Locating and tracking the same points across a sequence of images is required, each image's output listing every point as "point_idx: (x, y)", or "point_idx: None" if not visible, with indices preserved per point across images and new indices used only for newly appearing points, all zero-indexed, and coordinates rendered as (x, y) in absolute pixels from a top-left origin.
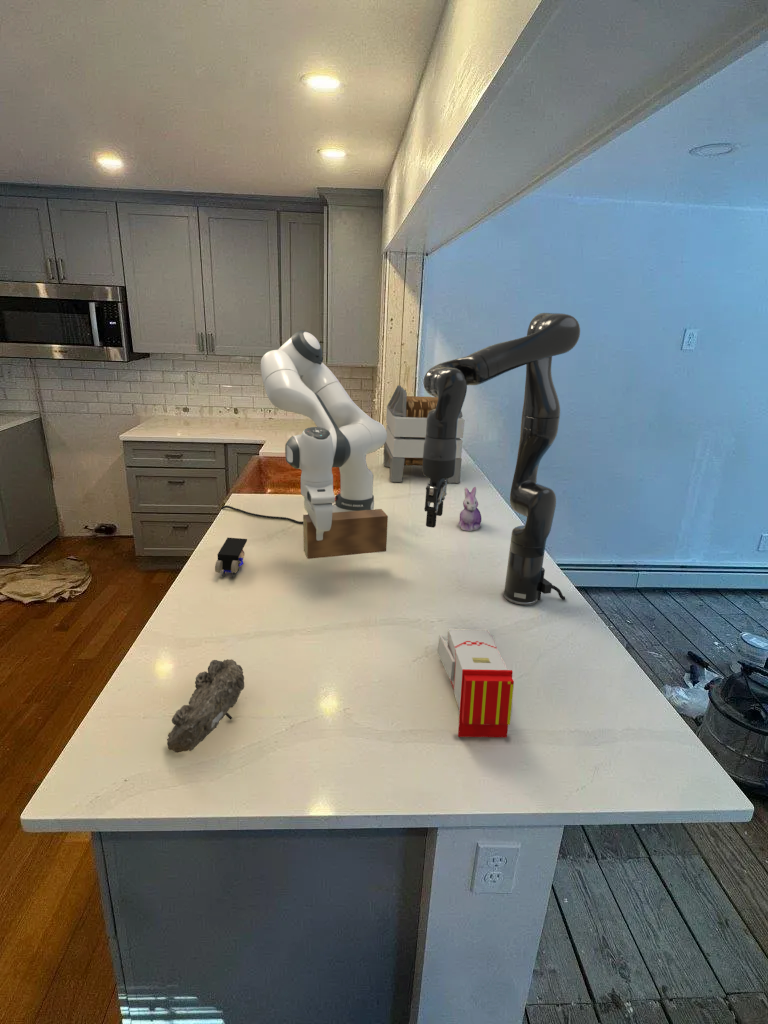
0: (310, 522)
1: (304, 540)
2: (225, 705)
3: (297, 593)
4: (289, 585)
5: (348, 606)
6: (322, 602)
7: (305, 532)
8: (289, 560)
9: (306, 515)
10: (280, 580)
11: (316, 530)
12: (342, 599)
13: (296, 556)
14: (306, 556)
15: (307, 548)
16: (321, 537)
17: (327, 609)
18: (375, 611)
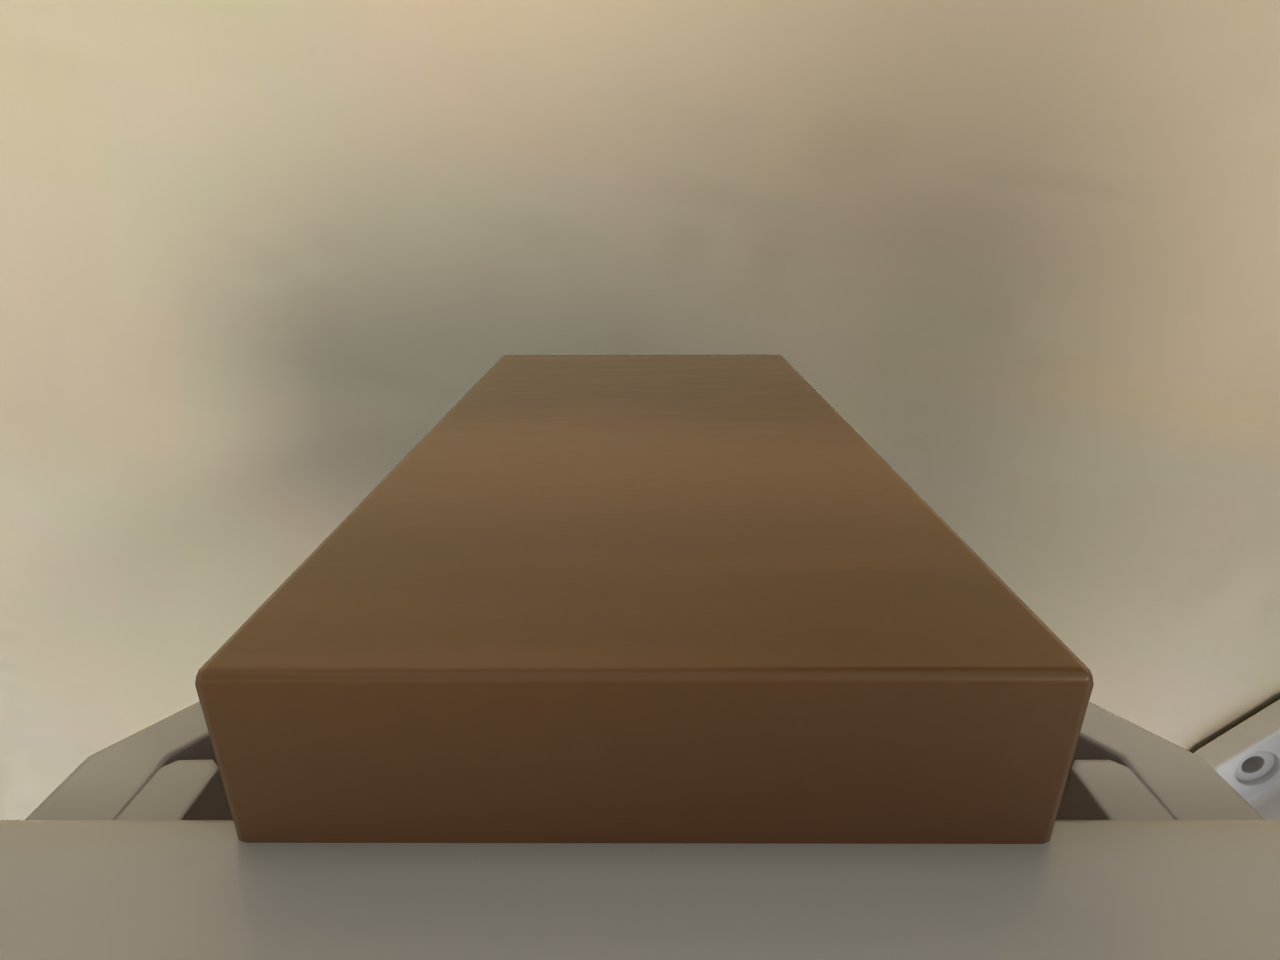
0: (232, 769)
1: (724, 399)
2: None
3: (379, 180)
4: (550, 129)
5: (139, 536)
6: (203, 365)
7: (612, 464)
8: (1093, 225)
9: (960, 770)
10: (676, 50)
11: (153, 742)
12: (249, 520)
13: (1150, 311)
14: (567, 355)
15: (468, 392)
16: None
17: (86, 380)
18: (73, 679)
